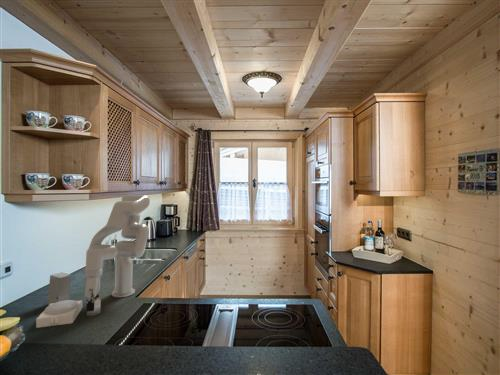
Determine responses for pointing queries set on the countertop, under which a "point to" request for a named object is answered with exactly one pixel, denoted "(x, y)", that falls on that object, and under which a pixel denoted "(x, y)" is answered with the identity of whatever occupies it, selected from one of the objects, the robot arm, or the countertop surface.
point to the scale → (59, 313)
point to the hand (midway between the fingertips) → (92, 306)
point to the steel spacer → (95, 307)
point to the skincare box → (59, 287)
